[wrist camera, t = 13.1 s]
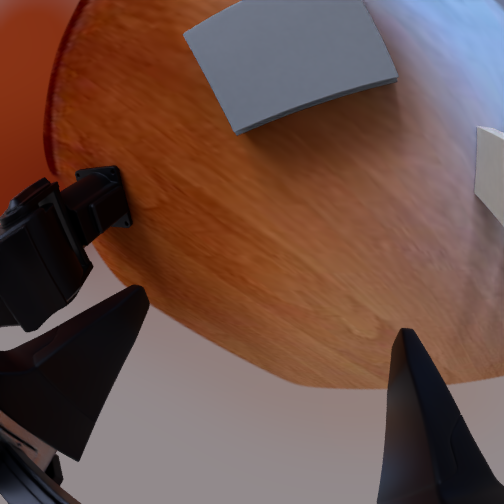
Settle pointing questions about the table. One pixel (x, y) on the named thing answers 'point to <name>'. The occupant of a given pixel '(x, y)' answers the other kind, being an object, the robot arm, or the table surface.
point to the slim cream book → (490, 170)
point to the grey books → (288, 56)
